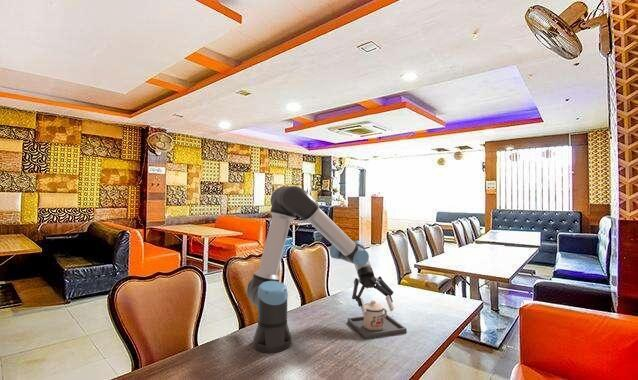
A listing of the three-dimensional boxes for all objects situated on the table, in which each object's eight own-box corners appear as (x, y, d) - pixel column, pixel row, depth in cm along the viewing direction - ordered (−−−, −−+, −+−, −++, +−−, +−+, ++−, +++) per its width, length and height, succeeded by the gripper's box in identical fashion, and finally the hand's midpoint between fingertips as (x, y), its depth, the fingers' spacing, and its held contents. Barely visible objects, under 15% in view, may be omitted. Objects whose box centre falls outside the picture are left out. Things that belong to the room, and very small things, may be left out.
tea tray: (364, 339, 131) (364, 334, 131) (347, 322, 148) (347, 318, 148) (406, 332, 137) (406, 328, 137) (385, 317, 154) (385, 313, 154)
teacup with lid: (371, 332, 135) (371, 305, 135) (359, 325, 143) (359, 299, 143) (393, 327, 141) (393, 301, 141) (379, 320, 149) (380, 295, 149)
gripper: (384, 272, 161) (400, 312, 146) (338, 275, 153) (350, 318, 139) (389, 264, 156) (406, 304, 141) (342, 267, 148) (355, 310, 134)
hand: (378, 311), depth 140 cm, fingers open, 13 cm apart
